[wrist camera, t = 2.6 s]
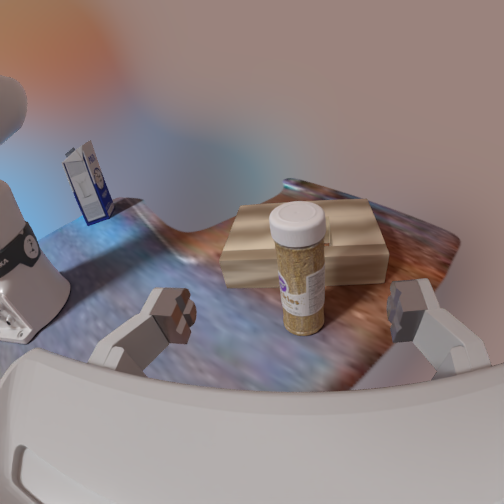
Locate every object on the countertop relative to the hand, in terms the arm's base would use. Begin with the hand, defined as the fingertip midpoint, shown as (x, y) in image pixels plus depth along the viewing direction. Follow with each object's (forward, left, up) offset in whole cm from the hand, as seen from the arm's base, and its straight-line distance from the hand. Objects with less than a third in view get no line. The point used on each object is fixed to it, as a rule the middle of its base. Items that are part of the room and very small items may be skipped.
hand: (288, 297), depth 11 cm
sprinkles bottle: (+4, +11, -17) cm, 21 cm away
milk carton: (-33, +58, -17) cm, 69 cm away
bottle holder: (+8, +23, -16) cm, 30 cm away
